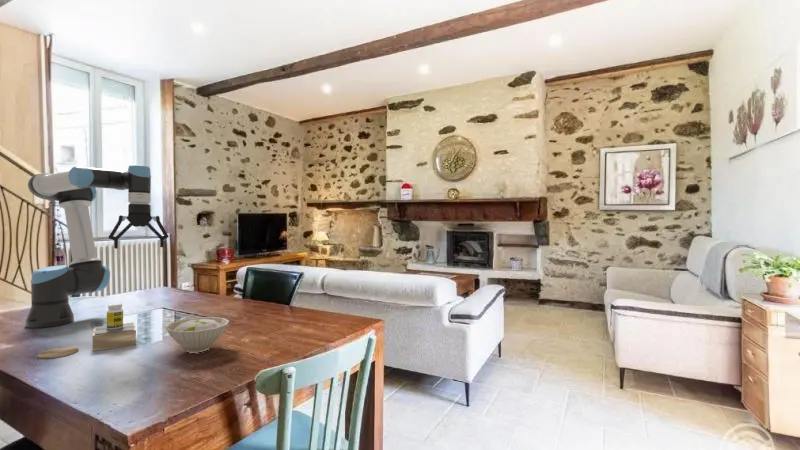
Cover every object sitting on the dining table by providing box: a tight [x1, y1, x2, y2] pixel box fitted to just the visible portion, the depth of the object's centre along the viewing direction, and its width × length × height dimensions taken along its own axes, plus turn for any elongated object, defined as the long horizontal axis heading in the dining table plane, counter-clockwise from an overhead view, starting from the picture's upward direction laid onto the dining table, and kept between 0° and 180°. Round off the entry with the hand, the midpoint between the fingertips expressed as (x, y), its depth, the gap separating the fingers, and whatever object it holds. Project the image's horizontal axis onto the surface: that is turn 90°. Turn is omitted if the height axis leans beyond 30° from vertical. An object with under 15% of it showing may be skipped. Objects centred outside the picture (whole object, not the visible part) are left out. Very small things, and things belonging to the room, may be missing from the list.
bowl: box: [165, 316, 230, 352], centre depth 135 cm, size 19×19×10 cm
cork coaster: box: [37, 346, 79, 360], centre depth 130 cm, size 10×10×1 cm
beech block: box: [92, 322, 137, 352], centre depth 141 cm, size 12×12×5 cm
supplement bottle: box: [106, 302, 124, 330], centre depth 141 cm, size 5×5×8 cm
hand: (139, 256), depth 162 cm, fingers open, 13 cm apart
